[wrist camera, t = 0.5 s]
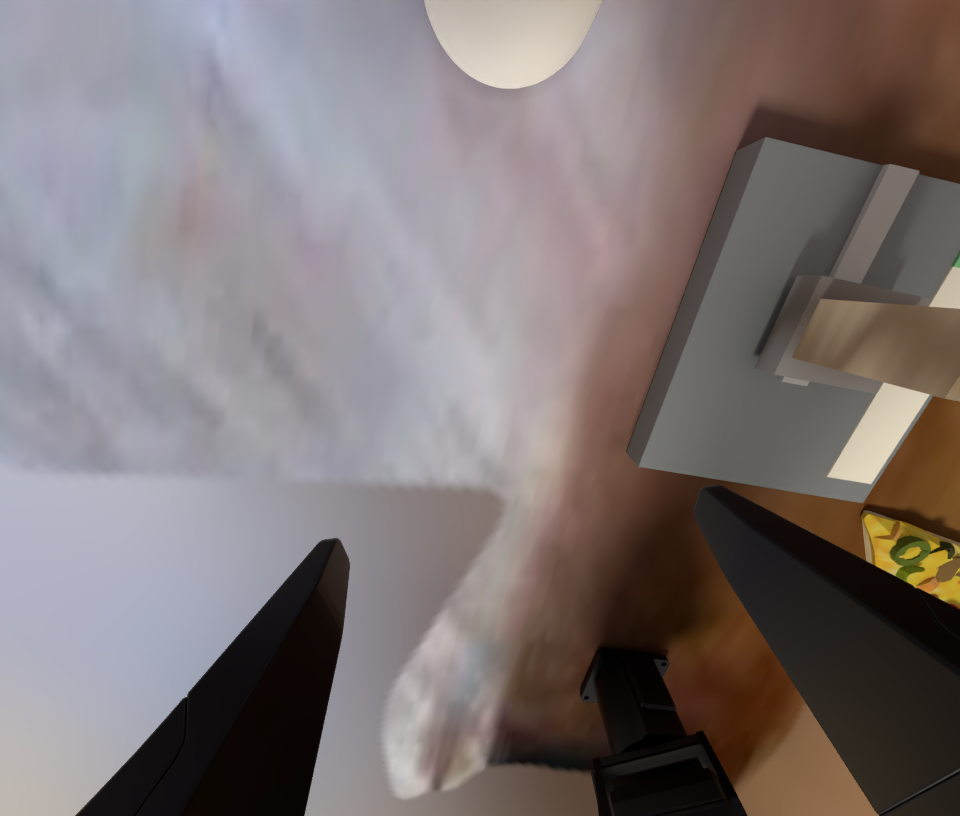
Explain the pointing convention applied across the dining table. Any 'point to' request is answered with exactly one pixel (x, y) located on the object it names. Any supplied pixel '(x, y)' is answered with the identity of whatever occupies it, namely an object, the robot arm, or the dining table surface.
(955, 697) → the robot arm
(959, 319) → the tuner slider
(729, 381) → the board
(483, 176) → the dining table surface
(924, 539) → the pizza slice
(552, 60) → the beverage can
